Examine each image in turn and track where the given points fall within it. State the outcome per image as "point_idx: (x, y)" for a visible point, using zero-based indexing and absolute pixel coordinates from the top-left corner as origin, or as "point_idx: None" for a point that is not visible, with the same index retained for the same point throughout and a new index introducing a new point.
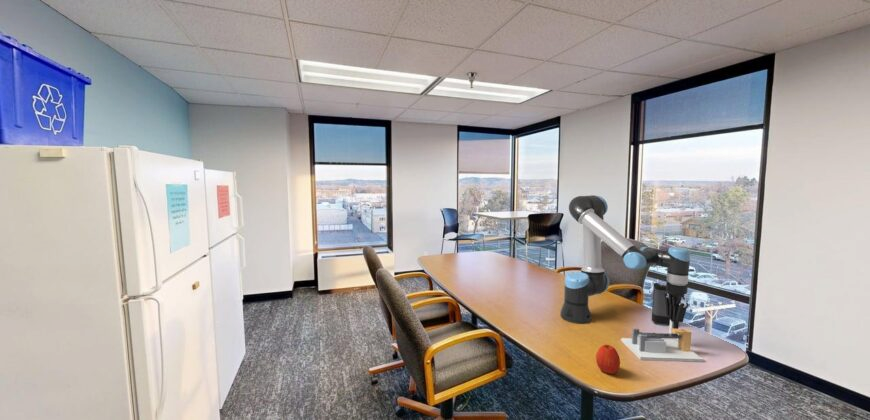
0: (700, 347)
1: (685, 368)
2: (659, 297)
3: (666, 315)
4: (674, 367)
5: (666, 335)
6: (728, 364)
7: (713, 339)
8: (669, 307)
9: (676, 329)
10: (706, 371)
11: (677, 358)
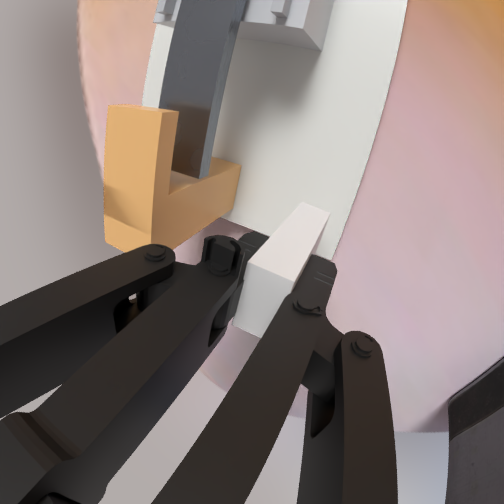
0: None
1: (116, 63)
2: None
3: (482, 425)
4: (127, 23)
5: (185, 58)
6: None
7: (300, 410)
8: (322, 477)
9: (139, 158)
10: (97, 132)
11: (148, 64)
